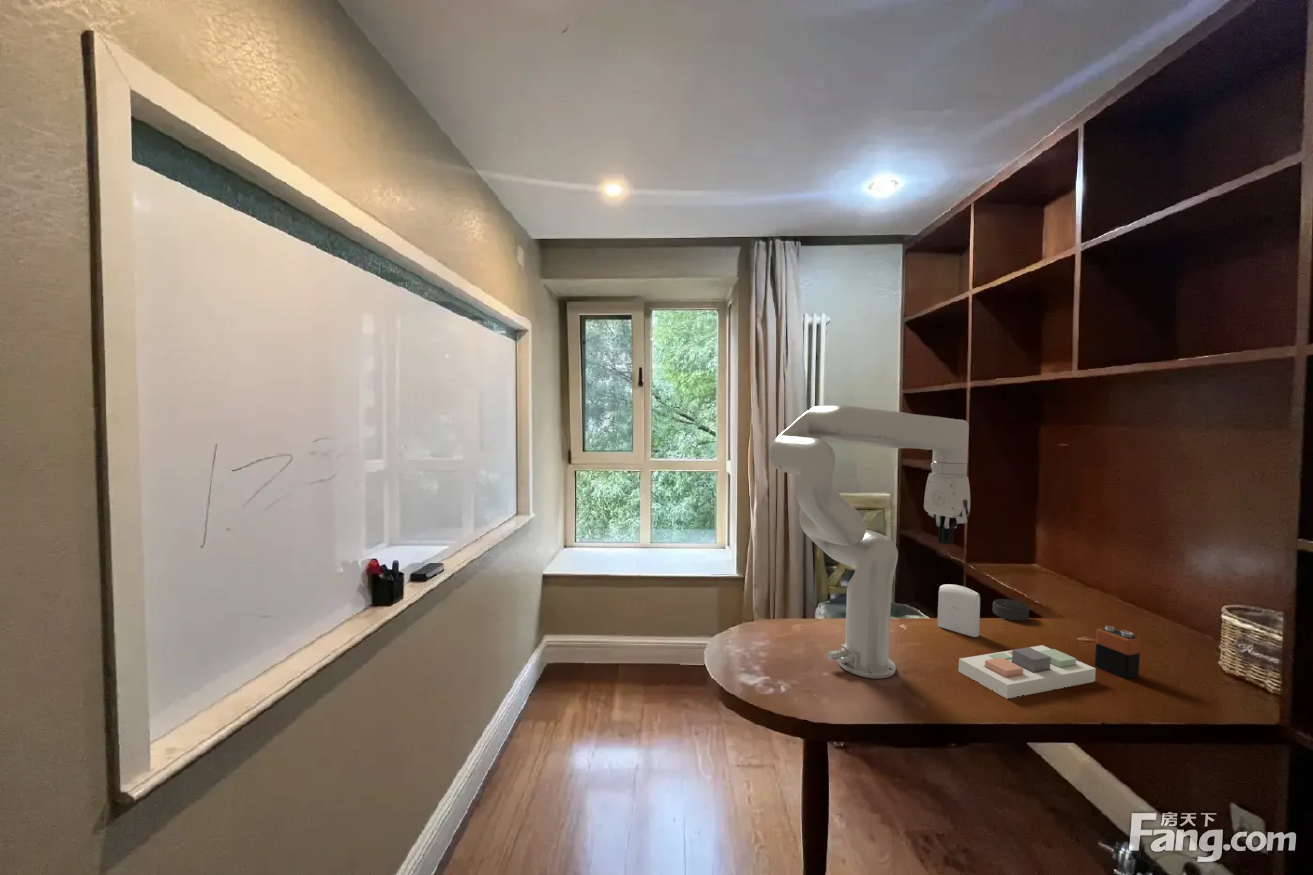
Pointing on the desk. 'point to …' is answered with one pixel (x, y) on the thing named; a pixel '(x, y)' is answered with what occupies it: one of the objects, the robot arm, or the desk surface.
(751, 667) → the desk surface
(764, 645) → the desk surface
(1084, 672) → the white flat slab
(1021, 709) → the desk surface
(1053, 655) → the sage key
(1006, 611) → the smart speaker
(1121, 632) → the battery
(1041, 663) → the charcoal key
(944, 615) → the photo printer
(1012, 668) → the terracotta key
